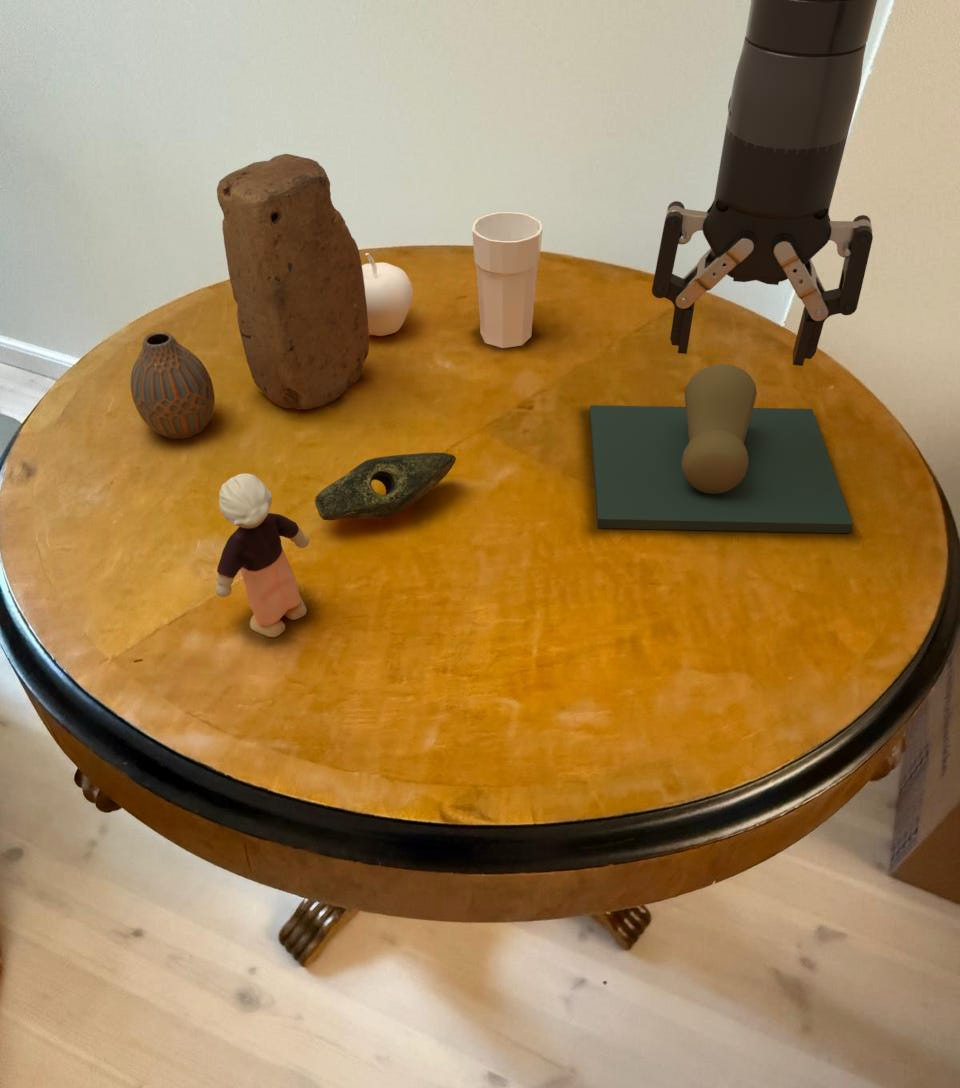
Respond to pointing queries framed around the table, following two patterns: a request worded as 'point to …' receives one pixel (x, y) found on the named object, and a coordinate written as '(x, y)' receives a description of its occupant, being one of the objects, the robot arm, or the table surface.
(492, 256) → the cup
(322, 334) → the block
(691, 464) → the cork
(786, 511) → the mat
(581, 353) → the table surface
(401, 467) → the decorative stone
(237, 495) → the grandmother figurine
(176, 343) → the vase
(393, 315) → the plain white apple
